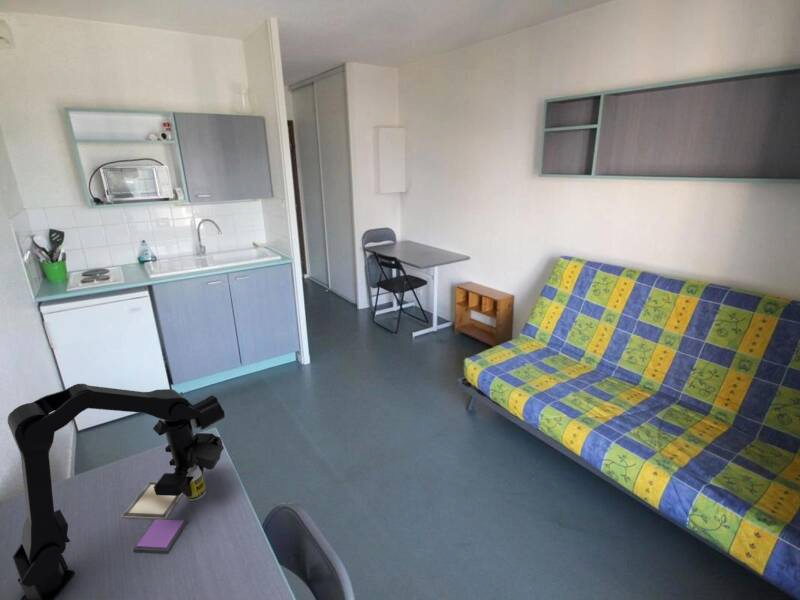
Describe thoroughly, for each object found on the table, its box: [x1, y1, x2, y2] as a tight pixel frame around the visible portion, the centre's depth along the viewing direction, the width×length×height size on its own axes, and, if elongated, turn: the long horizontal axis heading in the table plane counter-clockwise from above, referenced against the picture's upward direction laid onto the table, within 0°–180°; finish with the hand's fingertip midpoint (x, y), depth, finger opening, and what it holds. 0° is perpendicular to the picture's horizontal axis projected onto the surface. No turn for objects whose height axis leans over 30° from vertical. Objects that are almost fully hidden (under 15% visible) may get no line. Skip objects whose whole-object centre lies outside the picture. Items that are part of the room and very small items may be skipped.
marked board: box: [121, 481, 184, 520], centre depth 107 cm, size 11×11×1 cm
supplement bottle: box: [185, 465, 207, 502], centre depth 107 cm, size 5×5×8 cm
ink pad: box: [132, 518, 189, 554], centre depth 97 cm, size 8×8×1 cm
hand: (195, 488), depth 108 cm, fingers closed on supplement bottle, 5 cm apart
